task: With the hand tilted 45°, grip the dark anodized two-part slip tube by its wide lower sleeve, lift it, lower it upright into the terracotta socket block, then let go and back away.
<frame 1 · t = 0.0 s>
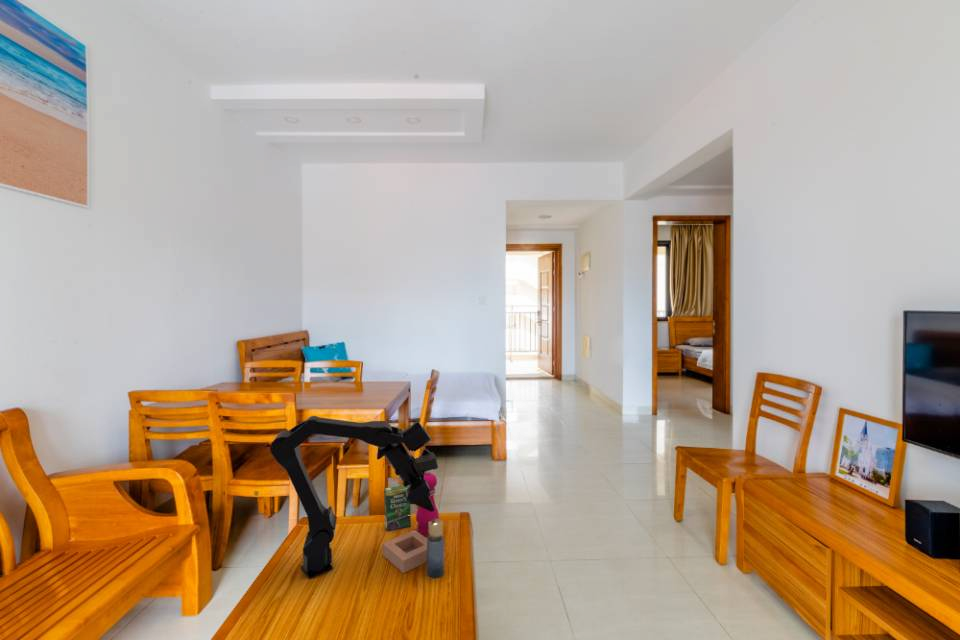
hand: (431, 503, 126), 15 cm above the table, tool tilted 35°, fingers open, 9 cm apart
slip tube: (435, 572, 118), on the table
coffee box: (397, 527, 141), on the table
socket block: (409, 556, 125), on the table
pepper mill: (427, 531, 139), on the table
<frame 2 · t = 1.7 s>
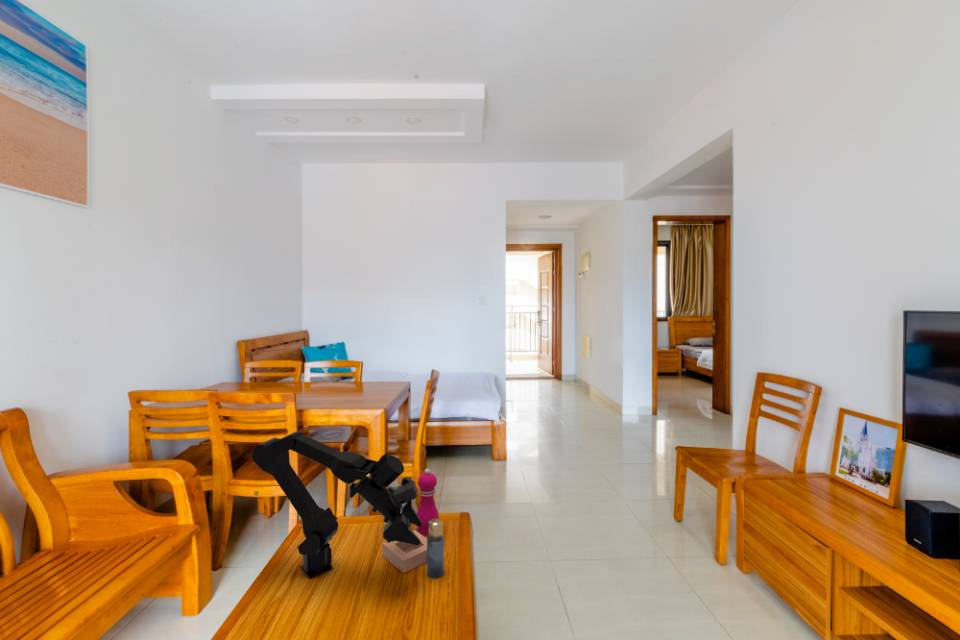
hand: (420, 534, 117), 11 cm above the table, tool tilted 45°, fingers open, 9 cm apart
nothing on the table moved.
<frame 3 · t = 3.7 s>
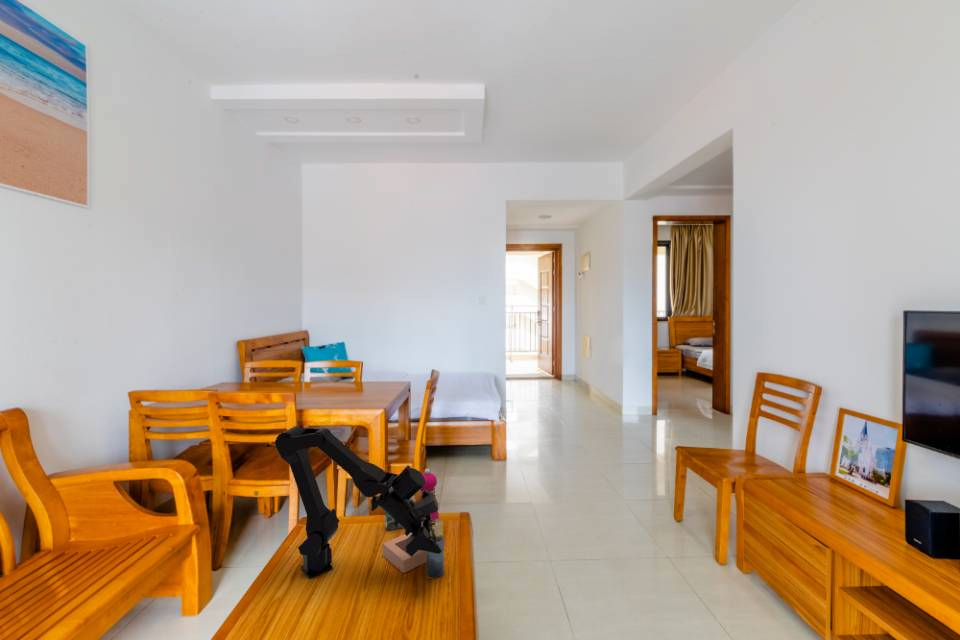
hand: (440, 546, 118), 7 cm above the table, tool tilted 45°, fingers closed on slip tube, 5 cm apart
slip tube: (435, 572, 118), on the table, touching gripper
everything else where it was.
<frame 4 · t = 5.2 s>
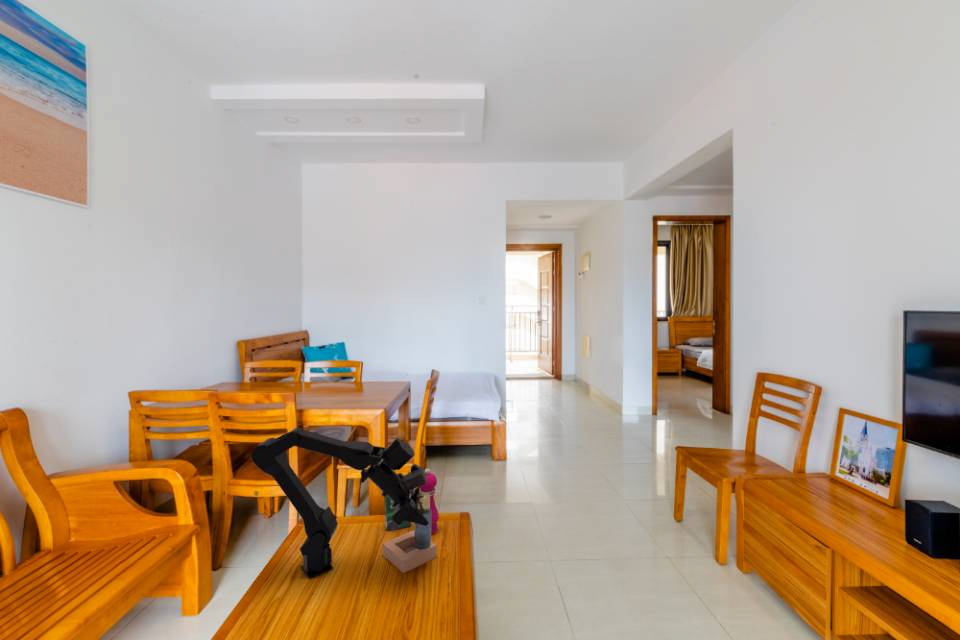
hand: (427, 519, 120), 13 cm above the table, tool tilted 45°, fingers closed on slip tube, 5 cm apart
slip tube: (422, 544, 121), point 6 cm above the table, touching gripper
everything else where it was.
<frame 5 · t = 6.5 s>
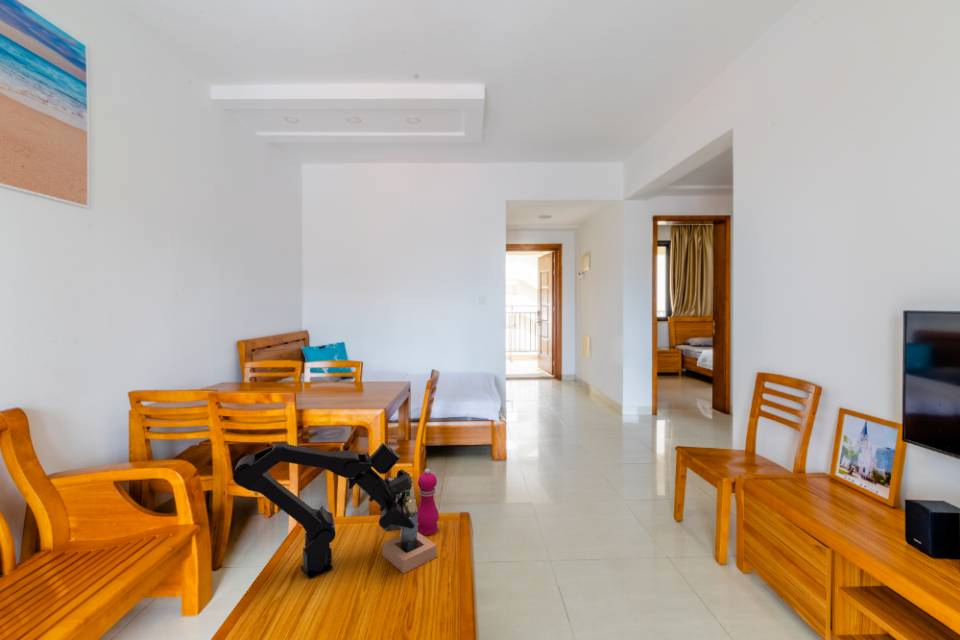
hand: (414, 522, 125), 10 cm above the table, tool tilted 45°, fingers closed on slip tube, 5 cm apart
slip tube: (409, 547, 125), point 3 cm above the table, touching gripper
everything else where it was.
when the fingers open (8 cm above the table, at t = 7.2 s): slip tube stays where it is, resting on socket block.
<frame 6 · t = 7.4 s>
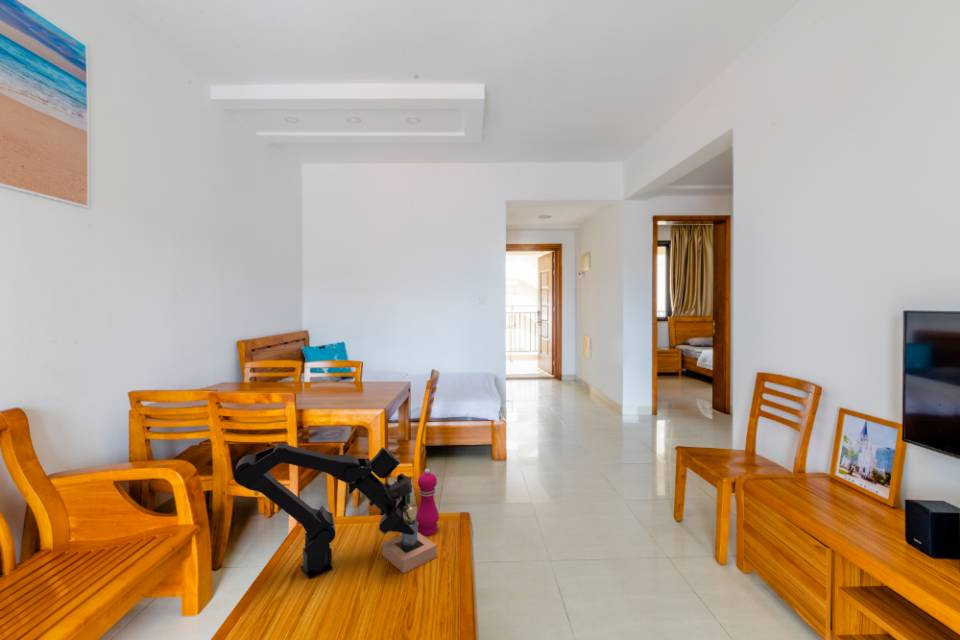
hand: (414, 526, 125), 9 cm above the table, tool tilted 45°, fingers open, 7 cm apart
slip tube: (409, 554, 125), resting on socket block
everything else where it was.
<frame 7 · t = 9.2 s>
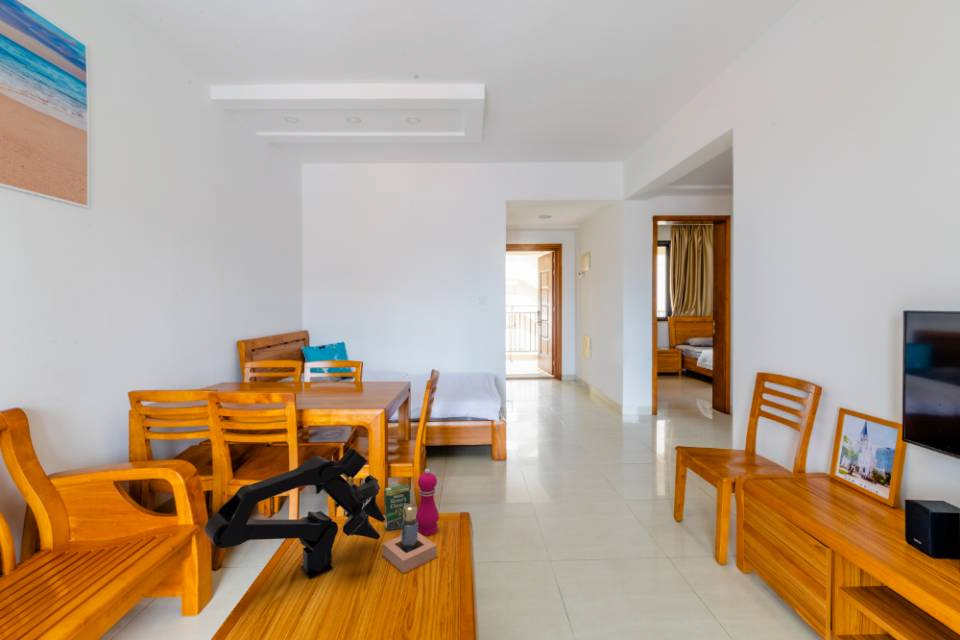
hand: (381, 529, 124), 9 cm above the table, tool tilted 45°, fingers open, 9 cm apart
nothing on the table moved.
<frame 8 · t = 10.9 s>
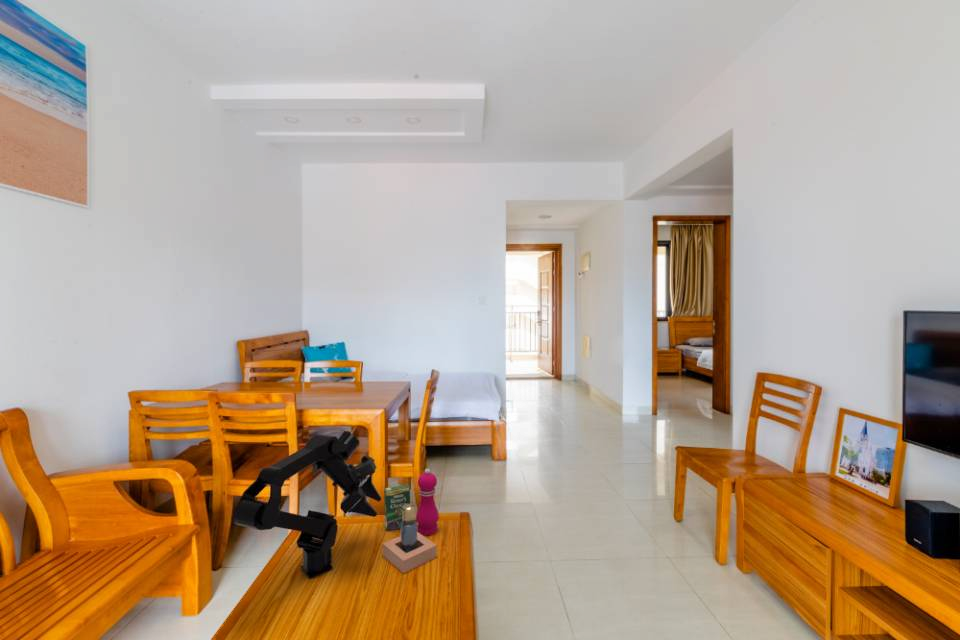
hand: (378, 507, 126), 14 cm above the table, tool tilted 45°, fingers open, 9 cm apart
nothing on the table moved.
at the end: slip tube 0.0 cm off-centre on the socket block, point 0.4 cm above the socket block's base; slip tube tilted 1°; the gripper is holding nothing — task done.
